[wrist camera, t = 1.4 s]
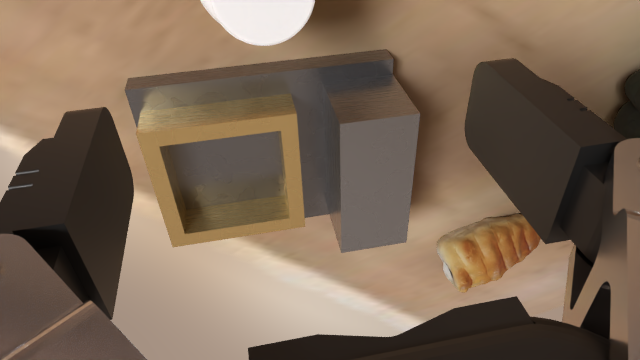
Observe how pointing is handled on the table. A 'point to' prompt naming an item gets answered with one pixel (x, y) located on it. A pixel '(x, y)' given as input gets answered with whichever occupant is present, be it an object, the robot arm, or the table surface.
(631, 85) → the squash
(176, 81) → the grey and tan tray
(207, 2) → the supplement bottle
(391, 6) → the table surface
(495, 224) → the pastry
